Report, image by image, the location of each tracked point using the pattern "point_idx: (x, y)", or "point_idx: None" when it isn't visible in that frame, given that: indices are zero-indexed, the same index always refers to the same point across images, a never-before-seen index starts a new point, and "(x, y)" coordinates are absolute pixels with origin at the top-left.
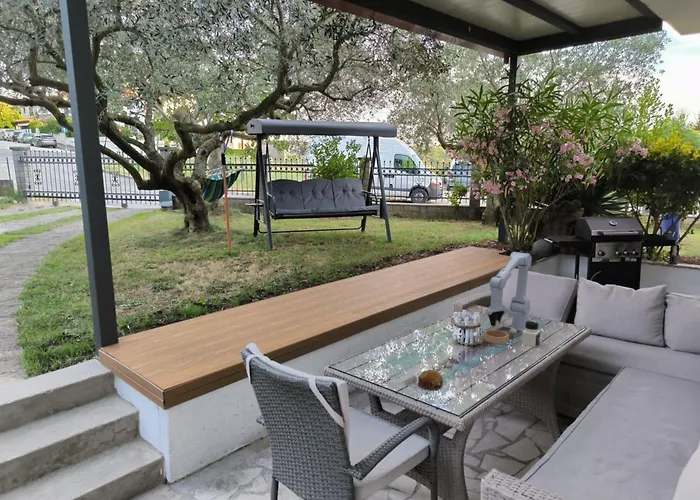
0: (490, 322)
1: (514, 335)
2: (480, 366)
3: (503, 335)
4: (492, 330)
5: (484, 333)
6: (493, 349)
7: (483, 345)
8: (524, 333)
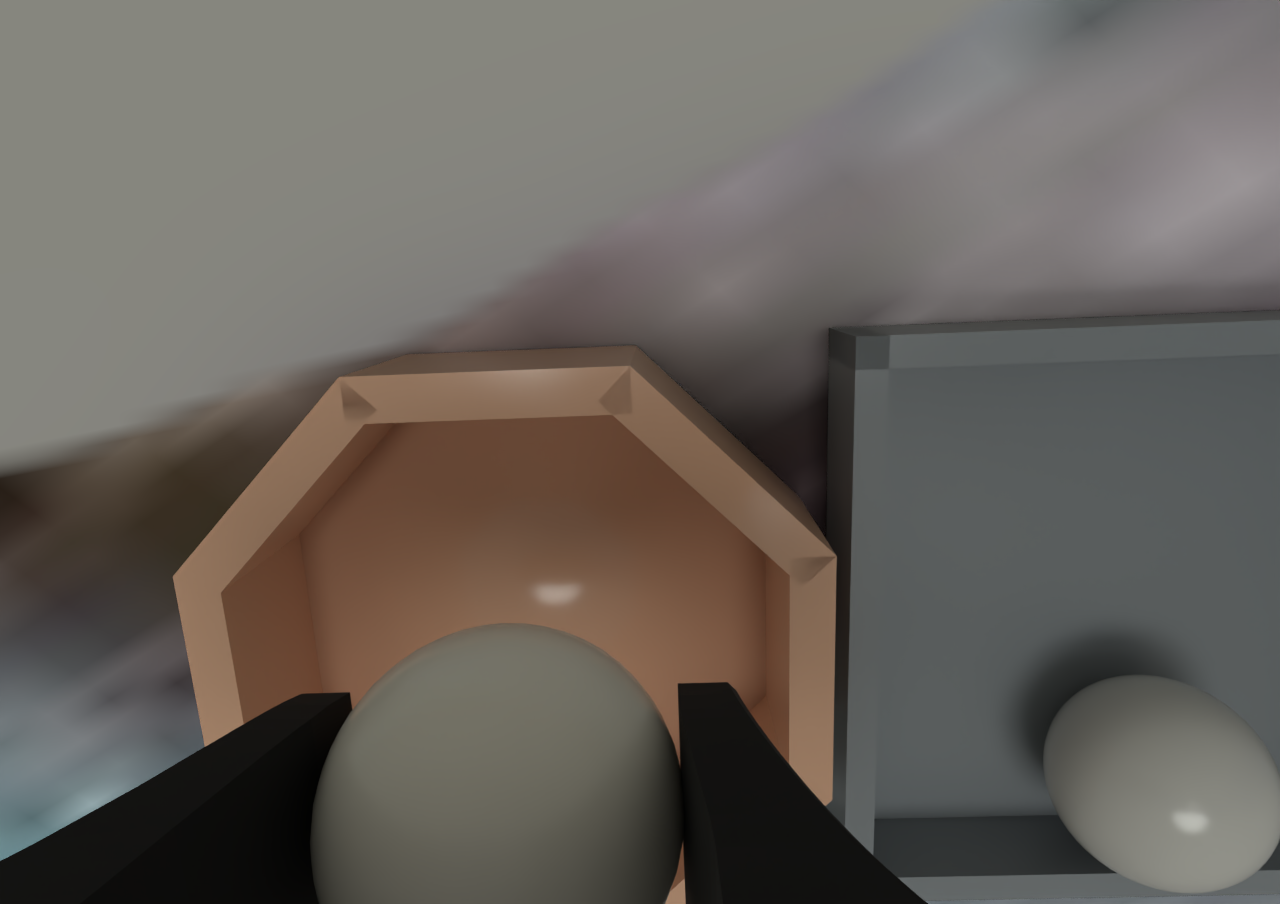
0: (196, 766)
1: (933, 899)
2: None
3: (775, 704)
4: (684, 468)
5: (314, 414)
6: (43, 837)
7: (39, 597)
8: None
